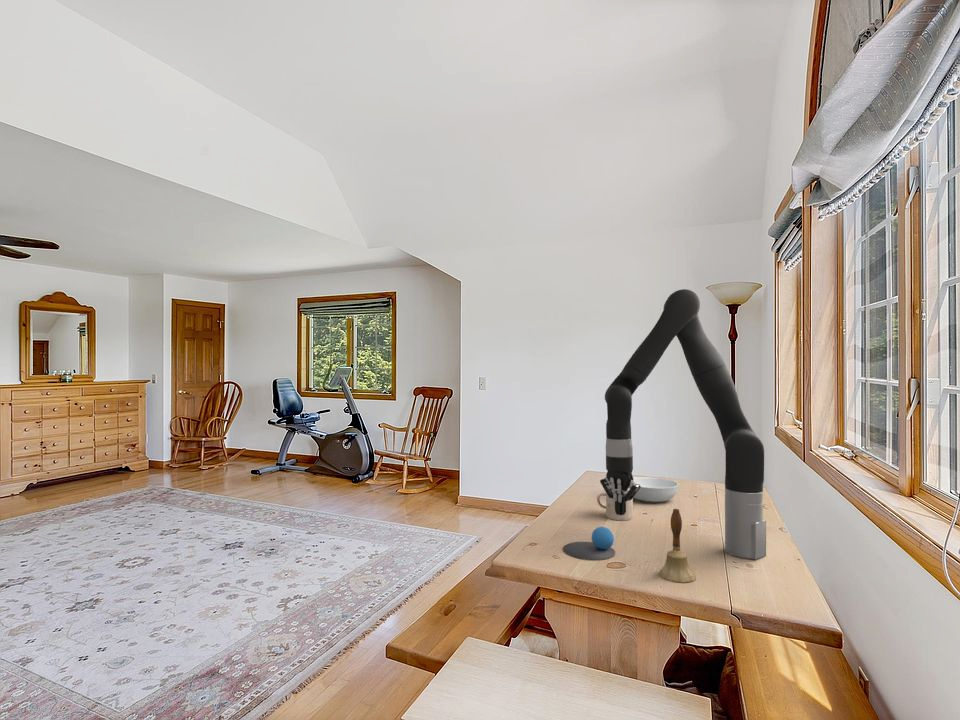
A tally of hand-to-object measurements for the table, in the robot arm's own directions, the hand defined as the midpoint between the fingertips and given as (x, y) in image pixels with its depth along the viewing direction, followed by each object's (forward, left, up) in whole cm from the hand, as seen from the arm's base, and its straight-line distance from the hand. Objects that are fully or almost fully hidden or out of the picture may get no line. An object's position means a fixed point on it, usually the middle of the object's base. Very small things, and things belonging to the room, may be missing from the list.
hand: (620, 514), depth 148 cm
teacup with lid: (+18, -20, -8) cm, 28 cm away
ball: (-1, +9, -5) cm, 10 cm away
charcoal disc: (+1, +13, -8) cm, 15 cm away
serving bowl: (+25, -50, -8) cm, 56 cm away
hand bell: (-23, +9, -8) cm, 26 cm away
